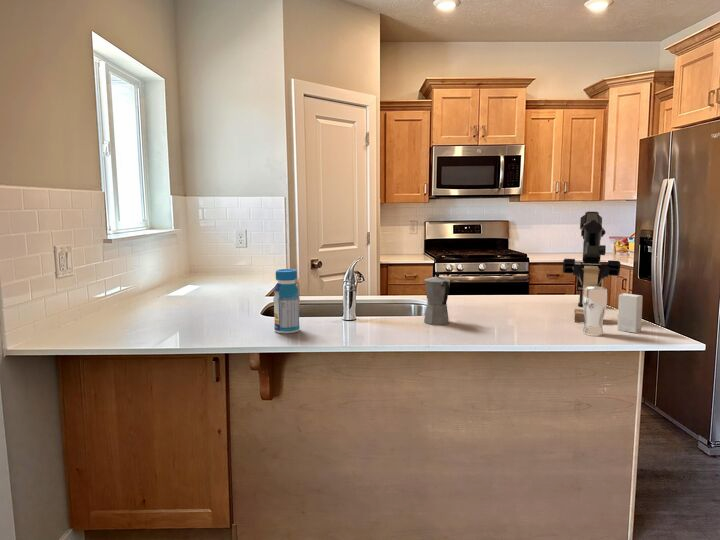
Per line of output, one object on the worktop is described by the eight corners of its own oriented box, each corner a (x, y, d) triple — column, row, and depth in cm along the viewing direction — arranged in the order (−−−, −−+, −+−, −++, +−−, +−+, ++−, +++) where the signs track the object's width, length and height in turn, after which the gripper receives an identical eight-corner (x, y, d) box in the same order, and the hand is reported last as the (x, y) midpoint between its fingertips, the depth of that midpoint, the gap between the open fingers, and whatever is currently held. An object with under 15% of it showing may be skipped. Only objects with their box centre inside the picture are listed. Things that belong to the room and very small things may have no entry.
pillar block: (582, 301, 185) (584, 265, 183) (595, 302, 183) (598, 266, 181) (582, 303, 181) (584, 267, 179) (596, 304, 179) (598, 267, 177)
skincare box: (641, 331, 167) (644, 295, 165) (635, 333, 164) (638, 296, 162) (622, 328, 172) (624, 292, 170) (616, 330, 169) (618, 294, 167)
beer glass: (603, 337, 159) (606, 290, 157) (579, 334, 163) (582, 288, 161) (606, 332, 165) (609, 287, 163) (582, 330, 169) (585, 285, 167)
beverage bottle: (289, 335, 161) (288, 272, 158) (268, 331, 165) (267, 270, 162) (305, 329, 168) (304, 269, 165) (284, 326, 172) (283, 267, 169)
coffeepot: (417, 319, 184) (417, 269, 182) (441, 317, 186) (442, 268, 184) (434, 329, 169) (435, 275, 167) (459, 327, 172) (461, 274, 169)
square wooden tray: (574, 316, 188) (575, 308, 188) (601, 319, 185) (601, 310, 184) (574, 322, 180) (574, 313, 180) (602, 324, 177) (603, 315, 176)
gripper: (564, 236, 186) (562, 270, 177) (621, 237, 179) (622, 273, 170) (564, 255, 194) (561, 288, 185) (618, 258, 187) (618, 292, 178)
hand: (590, 285), depth 180 cm, fingers closed on pillar block, 4 cm apart
